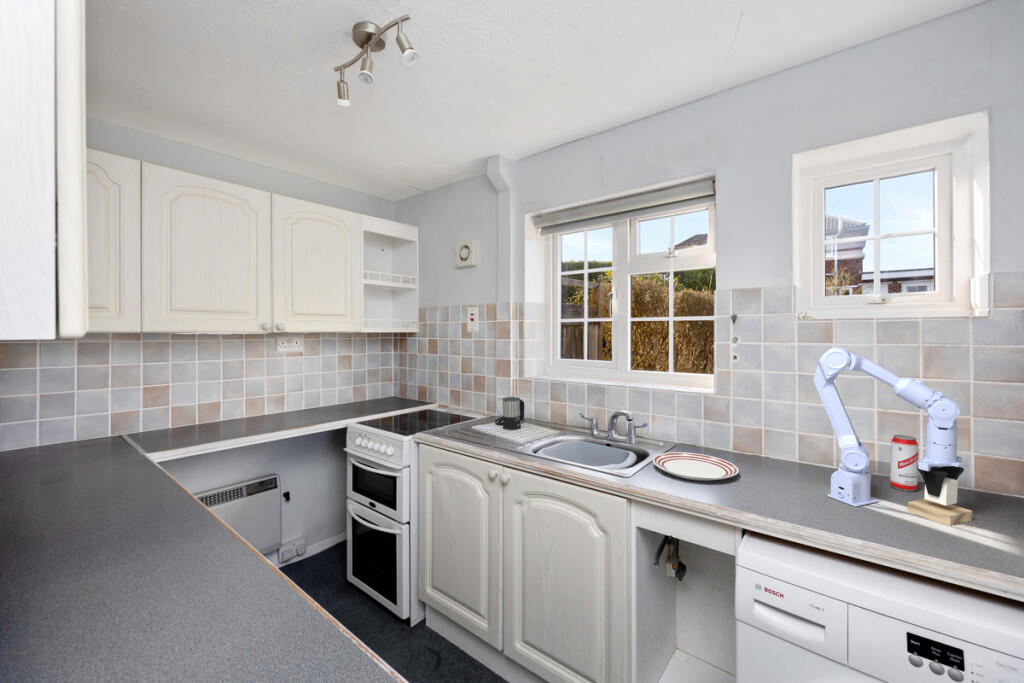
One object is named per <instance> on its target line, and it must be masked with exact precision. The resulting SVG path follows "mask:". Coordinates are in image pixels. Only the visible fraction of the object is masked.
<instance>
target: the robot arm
mask: <svg viewBox="0 0 1024 683" xmlns="http://www.w3.org/2000/svg"><path fill="white" fill-rule="evenodd" d="M848 367H849V371H852V372H853V371H854V372H855V371H857V372H862V373H865V374H866V375H869V376H870V377H873V378H874V379H876V380H878V381H880V382H882V383H883V384H886V385H887V386H889V387H891V388H893V393H894V395H895V396H897V397H898V398H900V399H902V400H903V401H905V402H908V403H909V404H911V405H913V406H914V407H916V408H918V409H919V410H925V411H926V412H927V413H928V414H927V423H926V427H925V428H926V430H925V431H926V432H925V434H926V435H925V436H926V437H925V439H926V440H925V456H924V457H923V458H922V459H921V460H918V466H917V469H918V472H919V474H920V476H921V477H922V479H923V482H924V486H925V485H926V489H927V492H928V494H930V495H933V496H936V497H939V496H940V493H941V489H942V484H943V481H944V479H945V477H947V478H951V479H954V480H958V479H959V477H960V476H961V475H962V473H964V471H965V468H964V467H963V457H961V456H958V455H957V450H958V448H957V447H958V426H957V425H958V418H960V415H961V411H960V407H959V405H958V404H957V403H956V402H955V401H954V400H953V399H951V398H949V396H947V395H943V392H941V391H940V390H938V391H935V390H934V389H932V388H930V387H929V386H927V385H925V384H923V381H922V380H920V379H918V378H916V379H913V377H905V378H902V377H899V376H898V375H896V374H895V373H893V372H892V371H889V370H887V369H886V368H884V367H882V366H881V365H879V364H877V363H875V362H874V361H872V360H870V359H868V358H867V357H865V356H863V355H860V354H858V353H856V352H853V351H851V352H850V351H849V350H847V349H846V348H845V347H842V346H834V347H832V348H830V349H828V350H827V351H826V352H824V354H823V355H822V356H821V357H820V358H819V359H818V363H817V367H816V370H815V373H814V375H813V380H812V381H813V383H814V386H815V388H816V390H817V393H818V395H819V398H820V400H821V403H822V405H823V408H824V410H825V412H826V415H827V417H828V419H829V422H830V424H831V427H832V428H833V431H834V434H835V436H836V438H837V443H838V448H839V449H840V462H839V464H838V469H837V470H836V471H834V472H833V473H832V474H831V476H830V493H828V494H827V497H829V498H832V499H834V500H836V501H840V502H841V503H845V504H847V505H850V506H853V507H861V506H865V505H870V504H874V503H875V504H876V503H879V500H878V499H875V498H874V497H871V488H872V487H871V486H872V485H871V484H872V469H871V468H870V467H869V465H870V459H869V458H870V451H869V450H868V448H867V447H866V446H865V445H864V444H863V442H861V440H860V438H859V436H858V434H857V433H856V430H855V427H854V426H853V423H852V421H851V419H850V416H849V414H848V411H847V408H846V407H845V405H844V403H843V399H842V398H841V395H840V393H839V391H838V389H837V388H838V387H837V386H836V384H835V380H836V379H837V377H838V376H839V374H840V373H841V372H842V371H844V370H845V369H847V368H848Z"/></svg>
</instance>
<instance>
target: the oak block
mask: <svg viewBox="0 0 1024 683" xmlns="http://www.w3.org/2000/svg"><path fill="white" fill-rule="evenodd" d="M906 511H908V512H907V513H910V512H911V513H910V514H913V513H914V514H913V515H916V514H917V515H916V516H918V515H920V516H919V517H921V516H923V517H922V518H924V517H925V518H924V519H927V518H928V519H927V520H930V519H931V520H930V521H933V520H934V521H933V522H936V521H937V522H936V523H939V522H940V523H939V524H942V523H943V524H942V525H944V524H946V525H945V526H947V525H949V526H948V527H953V526H952V525H954V526H957V525H956V524H958V525H960V523H962V524H965V523H969V522H972V521H973V510H971V509H967V508H964V507H961V506H957V505H954V504H951V505H947V506H945V505H942V504H939V503H936V502H933V501H930V500H927V499H924V498H921V499H917V500H912V501H908V502H907V509H906ZM968 521H969V522H968ZM963 522H964V523H963Z"/></svg>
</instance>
